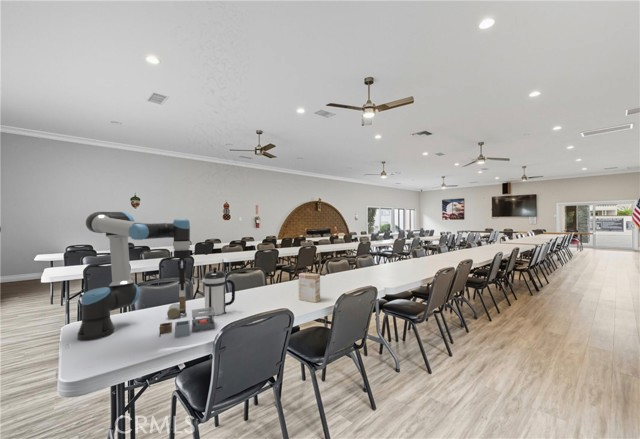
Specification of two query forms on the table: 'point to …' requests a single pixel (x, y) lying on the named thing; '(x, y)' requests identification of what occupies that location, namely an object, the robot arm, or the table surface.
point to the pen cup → (182, 328)
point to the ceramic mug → (175, 311)
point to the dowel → (183, 303)
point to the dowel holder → (165, 328)
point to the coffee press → (216, 291)
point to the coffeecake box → (309, 287)
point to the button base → (210, 321)
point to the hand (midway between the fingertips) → (182, 295)
